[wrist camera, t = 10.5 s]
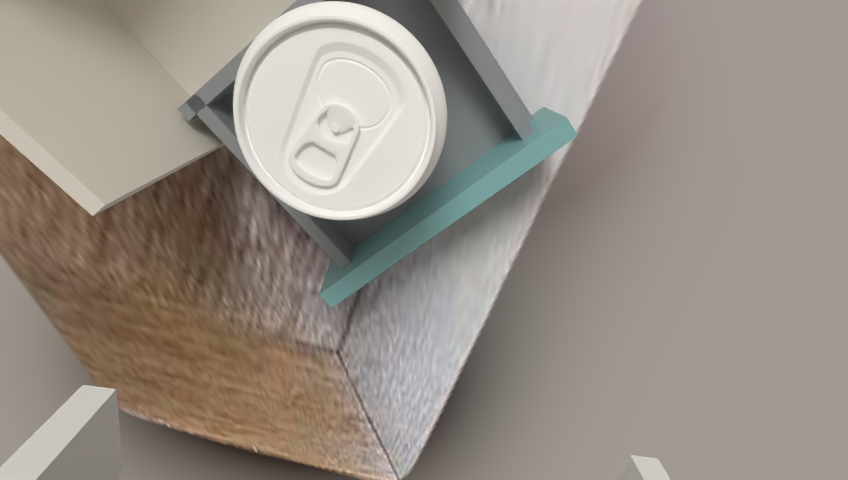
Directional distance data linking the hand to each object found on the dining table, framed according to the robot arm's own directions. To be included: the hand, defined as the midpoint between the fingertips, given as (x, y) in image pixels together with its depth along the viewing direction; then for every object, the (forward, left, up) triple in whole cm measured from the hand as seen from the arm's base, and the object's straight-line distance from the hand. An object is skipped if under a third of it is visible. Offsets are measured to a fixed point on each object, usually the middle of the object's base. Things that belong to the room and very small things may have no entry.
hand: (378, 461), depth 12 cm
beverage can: (-7, +3, -20) cm, 21 cm away
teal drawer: (-5, +2, -21) cm, 21 cm away
